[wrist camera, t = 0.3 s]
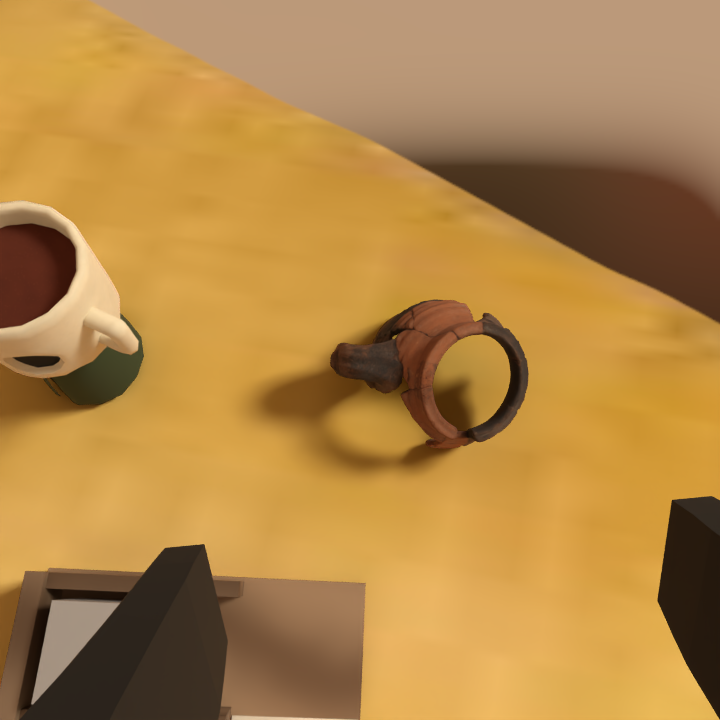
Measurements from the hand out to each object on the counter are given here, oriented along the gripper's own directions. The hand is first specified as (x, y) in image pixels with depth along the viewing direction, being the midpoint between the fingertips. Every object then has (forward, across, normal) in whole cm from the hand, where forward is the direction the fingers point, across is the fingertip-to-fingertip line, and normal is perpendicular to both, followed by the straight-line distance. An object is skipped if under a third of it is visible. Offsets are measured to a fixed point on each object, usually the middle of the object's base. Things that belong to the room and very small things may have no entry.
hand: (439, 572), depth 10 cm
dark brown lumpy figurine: (+30, -3, +12) cm, 32 cm away
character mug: (+30, +18, +8) cm, 36 cm away
